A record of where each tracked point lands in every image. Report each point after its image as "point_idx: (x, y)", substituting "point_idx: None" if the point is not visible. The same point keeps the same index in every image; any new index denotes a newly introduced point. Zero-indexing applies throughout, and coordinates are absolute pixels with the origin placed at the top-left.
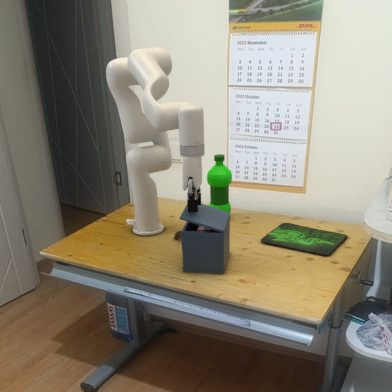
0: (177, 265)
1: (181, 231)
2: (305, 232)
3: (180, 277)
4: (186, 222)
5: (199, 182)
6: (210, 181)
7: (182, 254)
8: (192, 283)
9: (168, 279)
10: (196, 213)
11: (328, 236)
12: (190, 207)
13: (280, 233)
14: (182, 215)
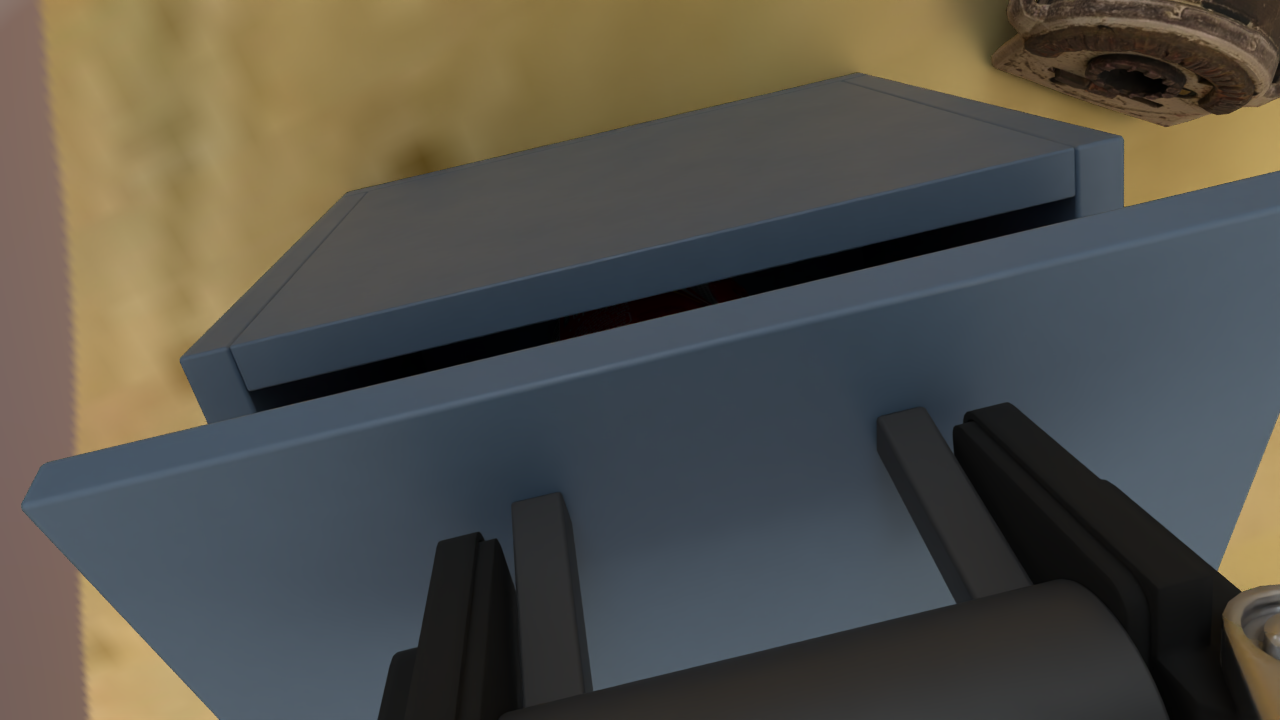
0: (468, 58)
1: (197, 358)
2: None
3: (217, 216)
4: (659, 254)
5: None
6: None
7: (294, 245)
8: (161, 377)
9: (110, 112)
10: (626, 589)
11: None
12: (392, 702)
13: None
14: (170, 504)
